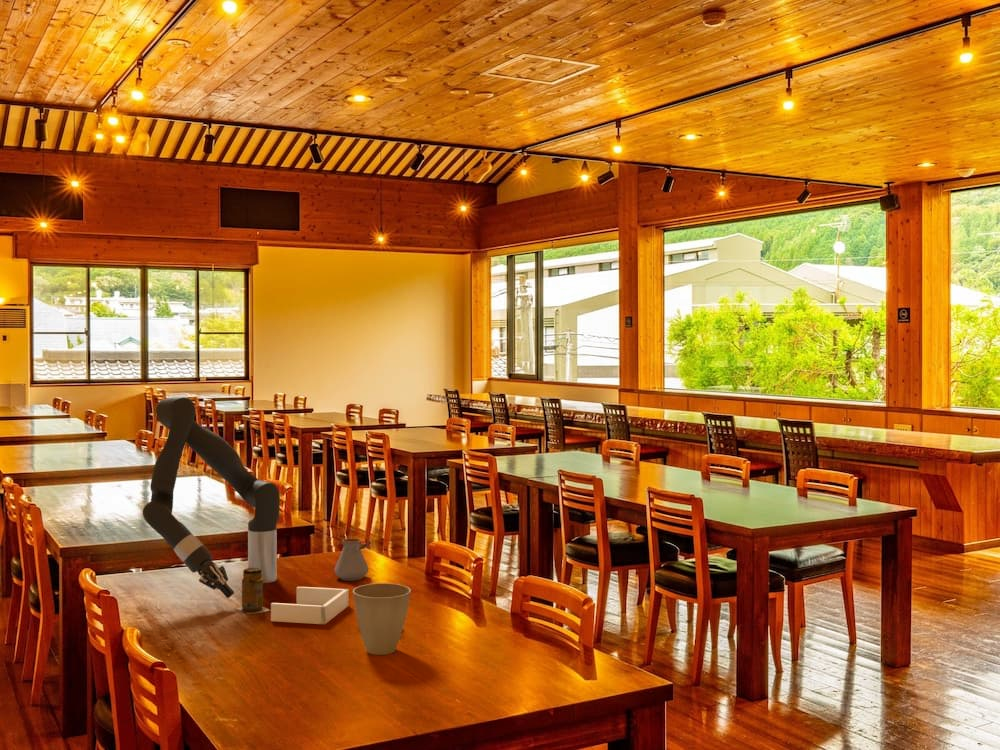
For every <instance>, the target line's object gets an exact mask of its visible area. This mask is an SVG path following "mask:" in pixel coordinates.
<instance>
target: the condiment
mask: <svg viewBox="0 0 1000 750" xmlns="http://www.w3.org/2000/svg"><path fill="white" fill-rule="evenodd" d="M261 576H262V574H261V569H260V568H248V567H247V568H245V569H243V575H242V580H241V607H236V608H235V609H236V610H238V611H240V612H243V613H245V614H247V615H252V614H253V615H255V614H260V613H261V614H262V613H265V612H269V611H270V612H271V609H269V608H267V607H264V606H263V605H264V604H263V601H264V583H263V579H262V577H261Z"/></svg>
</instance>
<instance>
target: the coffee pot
mask: <svg viewBox="0 0 1000 750" xmlns="http://www.w3.org/2000/svg"><path fill="white" fill-rule="evenodd" d="M361 542H362V539H360V538H344V539H342V540H341V543H342V545H343V548H342V551H341V552H340V554H339V555H340V556H339V558H338V560H337V562H336V565H335V567H334V573H335V576H337V577H338V578H339V580H343V581H347V582H348V581H349V582H351V581H359V580H362V579H364V577H365V576H366V575H367V574H368V572H369V566H368V564H367V562H366V559H365V557H364V555H363V552H362V549H365V548H368V549H372V548H373V546H371V547H369V546H370V545H371V544H372V545H374V544H373V542H371V541H368V542H365V543H363V544H362V545H360V544H361Z"/></svg>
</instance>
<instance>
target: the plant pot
mask: <svg viewBox="0 0 1000 750" xmlns="http://www.w3.org/2000/svg"><path fill="white" fill-rule="evenodd" d="M352 594H353V603H354V609H355V610H354V611H355V616H356V619H357V625H359V627H358V628H359V629H358V630H359V633H360V636H361V638H362V641H363V646H364V647H365V650H366V652H367V653H369V654H370V655H373V656H374V655H375V656H386V655H390V654H394V653H395V652H396V649H397V647H398V645H399V642H400V639H401V636H402V633H403V630H404V627H405V621H406V620H407V619H406V618H407V613H408V609H409V603H410V598H411V588H410V587H408V586H406V585H403V584H399V583H398V584H397V583H389V582H388V583H387V582H383V583H380V582H378V583H368V584H363V585H359V586H357V587H355V588H353V589H352Z"/></svg>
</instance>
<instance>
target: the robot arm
mask: <svg viewBox="0 0 1000 750" xmlns="http://www.w3.org/2000/svg"><path fill="white" fill-rule="evenodd" d="M196 412H197V410H196V406H195V402H193V400H192V399H191V398H189V397H187V396H174V397H166V398H163V399H162V400H160V401H159V402H158V403H157V405H156V408H155V415H156V417H157V420H158V421H159V422H160V424H161V425H162V426H164V427H166V428H167V429H168V430H169V431H168V435H167V438H166V441H165V443H164V445H163V447H162V449H161V451H160V453H159V454H158V456H157V459H156V461H155V464H154V466H153V471H152V474H151V475H152V476H151V480H150V487H149V488H150V491H151V497H150V501H148V502H147V503H146V504H145V505H144V507H143V508H142V516H143V517H142V518H143V519H144V520H145V522H146V523H147V524H148V525H149V526H150V527H151V528H152V529H153V530H154V531H155V532H156V533H157V534H159V535H160V536H161V537H162V538H163V539H164V540H165V542H166V543H167V544H168V545H169V547H171V548H172V550H173V551H174V552H175V554H176V556H177V557H178V558H179V559H180V561H181V562H183V563H184V565H185V566H186V567H187V568H188V569H189V570H190V571H191V573H197V574H198V575H199V576H200V578H199V579H198V582H199V583H201V584H203V585H204V586H206V587H208V588H210V589H212V590H218V591H220V592H221V593H222V594H223V595H224V596H225V598H226V599H230V598H231V597H232V596H233V595H234V594H235V591H234V590H233V589H232V587H230V585H229V584H227V583H228V581H229V578H228V575H227V572H226V568H225V566H223V565H220V567H219V566H218V565H217V564H216V563H215V562H214V561H213V560H212V559H213V554H212V553H211V551H210V550H209V549H208V548H207V547H206V546H205V545H204V544H203V543H202V542H201V540H199V539H198V538H197V537H196V536H195V535H194V534H193V533H192V532H191V530H189V528H187V526H185V525H184V524H183V523H182V522H180V521H179V520H178V519H177V518H176V517H175V516H174V514H173V507H174V491H175V486H176V481H177V476H178V470H179V465H180V462H181V458H182V454H183V453H184V449H185V446H186V445H187V446H188V447H189V448H190V449H192V451H194V453H196V454H197V455H198V457H200V458H201V460H203V461H204V462H205V464H207V465H208V466H209V467H210V468H211V469H212V470H213V471H214V472H215V473H216V474H218V475H219V476H220V477H221V478H222V479H223V480H224V481H225V482H227V483H228V484H230V486H232V488H233V489H234V490H235V491H236V492H237V494H239V496H240V497H241V498H242V500H243V501H244V502H245V504H247V505H248V506H249V507H252V508H253V509H254V516H253V518H252V519H250V520H249V521H248V524H247V540H248V541H247V548H248V549H247V556H248V557H247V559H248V560H247V568H260V569H261V574H262V576H261V577H262V579H263V584H271V583H274V582H277V572H278V571H277V568H278V565H277V563H278V562H277V561H278V555H277V551H278V549H277V548H278V546H277V545H278V543H277V539H278V538H277V534H278V533H277V529H278V528H277V525H278V522H279V519H280V505H281V503H280V502H281V494H280V490H279V488H278V486H277V485H276V483H273V482H270V481H266V480H261V479H259V478H257V477H256V476H255V475H254V474H252V472H250V471H248V469H247V468H246V466H244V464H243V461H242V459H241V457H240V455H239V453H238V452H237V450H235V448H234V447H233V446H232V445H230V443H229V442H228V441H226V440H225V438H223V437H222V436H220V435H219V434H217V433H215V432H214V431H211V430H210V429H208V428H206V427H204V426H202V425H201V424H199V423H198V422H196V420H195V417H196Z"/></svg>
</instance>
